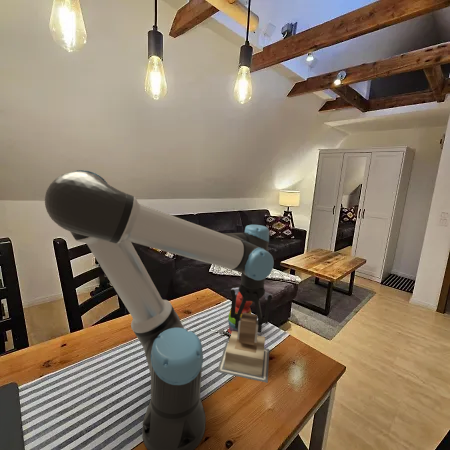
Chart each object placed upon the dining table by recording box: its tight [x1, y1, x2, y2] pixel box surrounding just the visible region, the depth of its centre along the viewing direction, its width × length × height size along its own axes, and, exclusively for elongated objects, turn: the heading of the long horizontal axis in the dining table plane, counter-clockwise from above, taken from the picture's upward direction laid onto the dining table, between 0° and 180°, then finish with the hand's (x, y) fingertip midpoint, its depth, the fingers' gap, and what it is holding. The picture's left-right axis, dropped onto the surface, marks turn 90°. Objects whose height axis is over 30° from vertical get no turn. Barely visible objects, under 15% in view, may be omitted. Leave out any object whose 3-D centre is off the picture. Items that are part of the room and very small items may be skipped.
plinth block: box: [224, 331, 266, 376], centre depth 87 cm, size 12×12×6 cm
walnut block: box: [239, 313, 258, 345], centre depth 85 cm, size 5×5×8 cm
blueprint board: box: [216, 340, 270, 383], centre depth 87 cm, size 16×16×1 cm
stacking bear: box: [227, 292, 253, 334], centre depth 101 cm, size 11×10×18 cm
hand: (247, 338), depth 86 cm, fingers closed on walnut block, 5 cm apart
